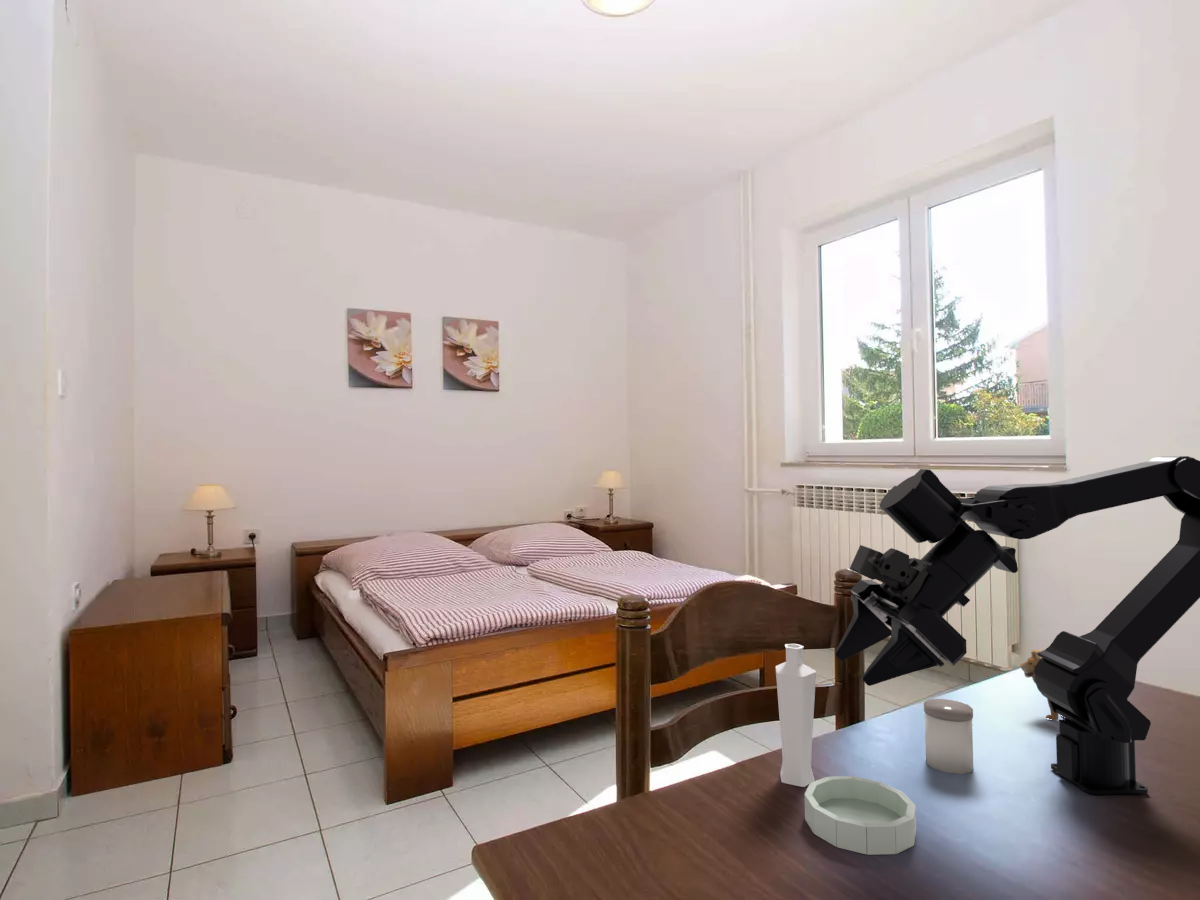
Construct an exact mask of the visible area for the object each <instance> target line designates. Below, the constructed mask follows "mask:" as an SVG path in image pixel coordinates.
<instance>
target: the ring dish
mask: <svg viewBox="0 0 1200 900" xmlns="http://www.w3.org/2000/svg"><path fill="white" fill-rule="evenodd" d="M916 807H917V805H916V804H915V803H914V802H913V801H912V800H911V799H910V798H909V796H907V795H906V794H905V793H904V792H903V791H901V790H899V789H897V788H894V787H892V786H890V785H888V784H885V783H884V782H882V781H877V780H873V779H868V778H864V777H859V776H854V775H846V776H844V775H842V776H841V775H840V776H839V775H836V776H835V775H834V776H825V777H822V778H819V779H817V780H815V781H813V782H811V783H810V784H808V785H807V788H806V790H805V792H804V820H805V822H806V823H807V825H808V826H809V828H810V830H811V831H812V833H813V834H814V835H816V836H817V837H818V838H820V839H822V840H824V841H826V843H829V844H830V845H832V846H834V847H836V848H839V849H843V850H847V851H851V852H855V853H859V854H862V855H868V856H871V855H872V856H875V855H878V856H879V855H897V854H899V853H901V852H904V851H905V850H908V849H910V848H912V847H913V846H915V842H916V835H917V813H916V812H917V808H916Z"/></svg>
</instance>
